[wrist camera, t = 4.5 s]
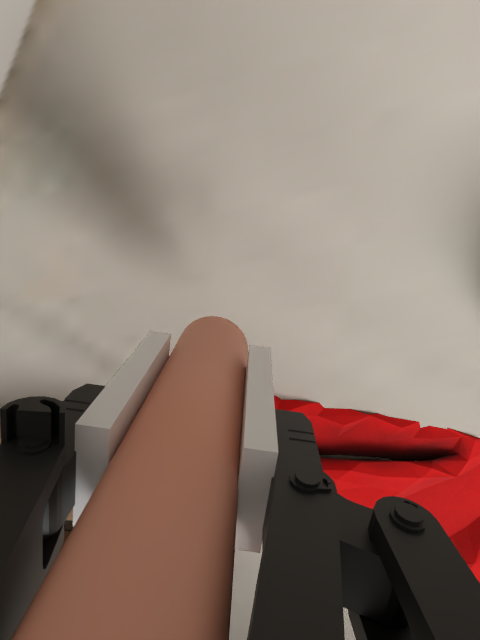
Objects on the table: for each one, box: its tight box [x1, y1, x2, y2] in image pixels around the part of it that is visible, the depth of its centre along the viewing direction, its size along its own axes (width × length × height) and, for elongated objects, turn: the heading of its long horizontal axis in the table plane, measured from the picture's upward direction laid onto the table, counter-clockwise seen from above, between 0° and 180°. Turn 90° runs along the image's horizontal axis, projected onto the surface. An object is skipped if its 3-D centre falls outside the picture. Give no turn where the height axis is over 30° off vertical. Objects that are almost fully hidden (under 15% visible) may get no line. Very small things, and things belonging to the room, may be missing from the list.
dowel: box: [11, 316, 248, 640], centre depth 11 cm, size 3×3×14 cm
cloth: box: [274, 396, 480, 583], centre depth 27 cm, size 26×14×2 cm, turn 35°
